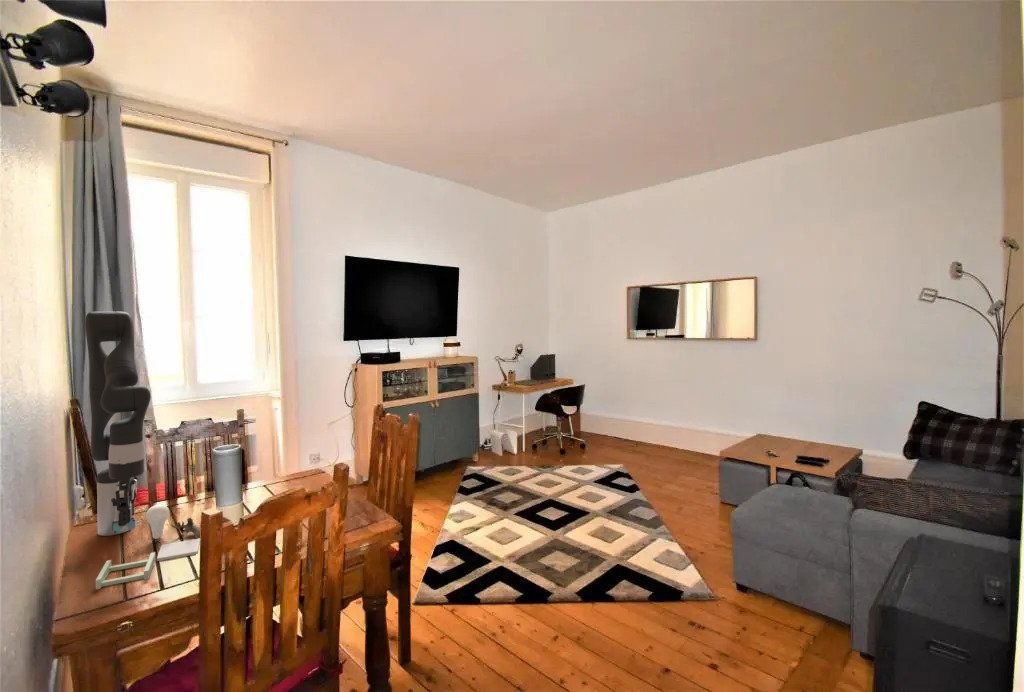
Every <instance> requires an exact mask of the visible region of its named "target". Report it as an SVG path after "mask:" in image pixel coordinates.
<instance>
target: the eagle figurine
mask: <svg viewBox="0 0 1024 692" xmlns="http://www.w3.org/2000/svg"><path fill="white" fill-rule="evenodd" d="M186 520H187V523H186V524H185V522H184V521H181V522H182V523H180V521H179V522H177V525H174V524H170V526H171V527H172V528H173V529H174V528H175V529H178V530H179V532H180V533H181V534H182V535H183V538H182V539H183V540H184V539H185V538H187V537H188V534H189V533H190V532H191V533H193V534H194V537H195V539H199V538H200V528H201V527H200V526H196V525H194V521H193V519H192V518H191V517H187V518H186ZM200 539H201V538H200Z"/></svg>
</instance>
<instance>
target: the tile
mask: <svg viewBox="0 0 1024 692" xmlns="http://www.w3.org/2000/svg"><path fill="white" fill-rule="evenodd" d="M200 545H201V538H199V539H198V538H197V539H196V538H195V539H187V540H183V541H178V542H172V543H171V542H170V543H166V544H161V546H160V548H159V552H158V554H157V558H156V562H159V561H165V560H171V559H177V558H182V557H188V556H193V555H198V554H199V551H200V550H199V549H200Z"/></svg>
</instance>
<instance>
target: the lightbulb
mask: <svg viewBox="0 0 1024 692" xmlns="http://www.w3.org/2000/svg"><path fill="white" fill-rule="evenodd" d="M169 516H170V509H169V507H167V506H166V505H165V504H155V505H152V506H151V507H150V508H148V509H147V511H146V512H145V520H146V522H147V524H149V526H150V530H151V532H152V538H153V539H155V540H159V539H160V538H162V537H163V532H164V528H165V523H166V521H167V520H168V518H169Z"/></svg>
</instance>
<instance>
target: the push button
mask: <svg viewBox="0 0 1024 692" xmlns="http://www.w3.org/2000/svg"><path fill="white" fill-rule="evenodd" d="M129 497H130V496H129ZM136 498H137V496H136V495H134V498H133V500H131V521H130V522H129V523H125V524H120V511H117V503H116V495H115V498H112V499H111V502H112V504H113V506H115V509H116V519H115V520H114V522H113V523H112V530H113V532H114V533H118V532H122V531H126V532H128V531H127V530H129V531H131V530H134V529H136V527H138V526H142V525H143V523H140V522H143V520H137V521H136V519H135V516H134V515H133V516H132V503H134V504H135V502H136ZM122 505H126V503H122Z"/></svg>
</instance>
